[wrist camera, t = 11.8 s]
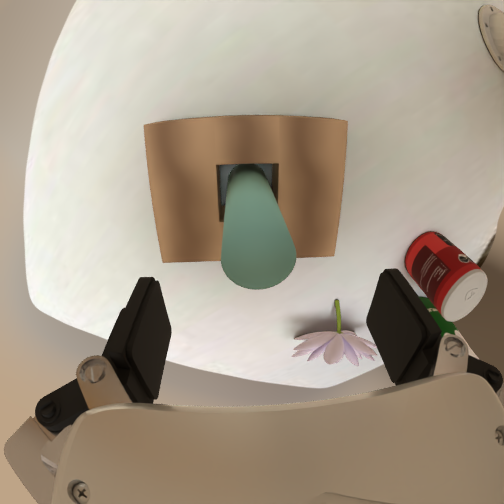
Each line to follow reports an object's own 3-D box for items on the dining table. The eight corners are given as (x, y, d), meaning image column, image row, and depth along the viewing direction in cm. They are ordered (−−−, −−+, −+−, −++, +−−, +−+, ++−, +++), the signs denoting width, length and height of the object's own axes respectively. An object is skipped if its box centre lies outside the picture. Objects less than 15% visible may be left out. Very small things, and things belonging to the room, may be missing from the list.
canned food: (446, 258, 35) (486, 299, 26) (408, 283, 37) (444, 332, 28) (440, 220, 32) (489, 259, 22) (398, 247, 34) (441, 296, 24)
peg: (265, 162, 28) (298, 223, 14) (265, 197, 29) (293, 287, 16) (227, 162, 27) (218, 225, 13) (228, 198, 29) (223, 290, 15)
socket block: (331, 118, 25) (347, 120, 21) (322, 237, 32) (334, 256, 28) (157, 122, 25) (143, 125, 21) (171, 242, 31) (162, 262, 28)
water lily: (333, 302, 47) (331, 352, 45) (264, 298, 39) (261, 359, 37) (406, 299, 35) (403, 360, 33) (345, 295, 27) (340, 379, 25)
